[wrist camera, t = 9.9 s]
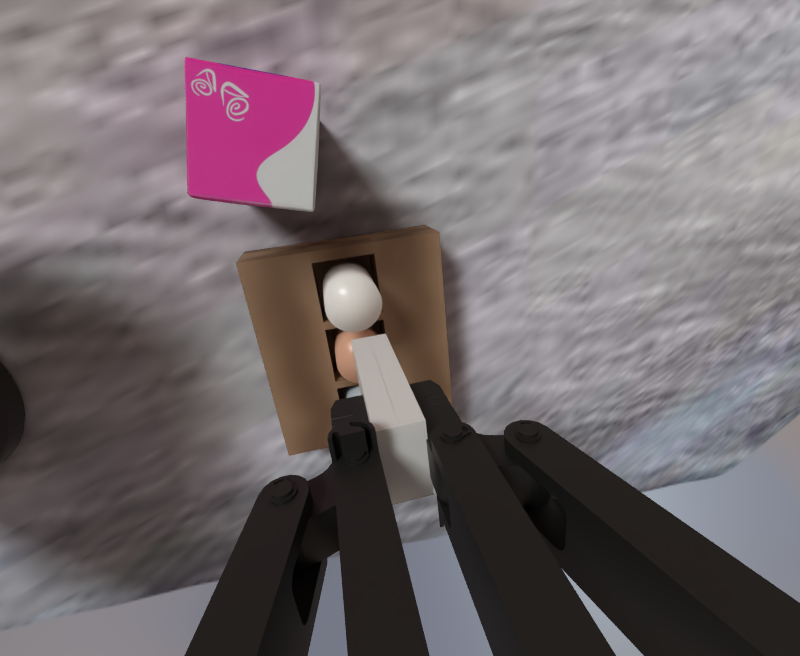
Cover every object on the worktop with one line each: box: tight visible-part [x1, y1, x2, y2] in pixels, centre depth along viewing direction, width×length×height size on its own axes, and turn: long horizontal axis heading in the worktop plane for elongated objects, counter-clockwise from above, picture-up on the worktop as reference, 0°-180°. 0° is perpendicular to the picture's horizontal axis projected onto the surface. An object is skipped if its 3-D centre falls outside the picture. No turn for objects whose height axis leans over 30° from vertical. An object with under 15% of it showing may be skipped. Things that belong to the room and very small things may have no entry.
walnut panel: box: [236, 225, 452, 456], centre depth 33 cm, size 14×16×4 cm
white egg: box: [323, 261, 382, 332], centre depth 27 cm, size 4×4×5 cm
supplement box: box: [185, 57, 321, 212], centre depth 23 cm, size 6×6×12 cm
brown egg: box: [333, 325, 378, 383], centre depth 31 cm, size 4×4×5 cm
